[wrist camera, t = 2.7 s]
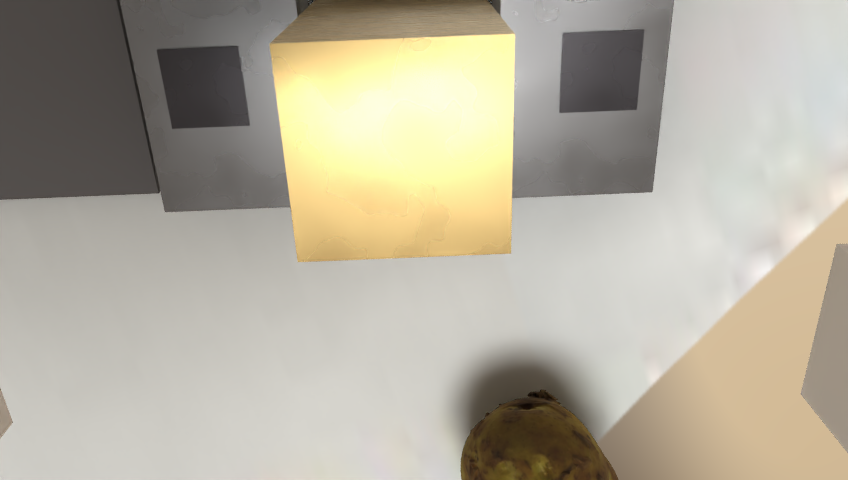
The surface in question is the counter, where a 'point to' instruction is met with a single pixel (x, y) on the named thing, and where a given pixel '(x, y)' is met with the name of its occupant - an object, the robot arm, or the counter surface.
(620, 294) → the counter surface
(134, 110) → the pad
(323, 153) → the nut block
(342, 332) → the counter surface
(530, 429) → the potato
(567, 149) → the grey slotted block
